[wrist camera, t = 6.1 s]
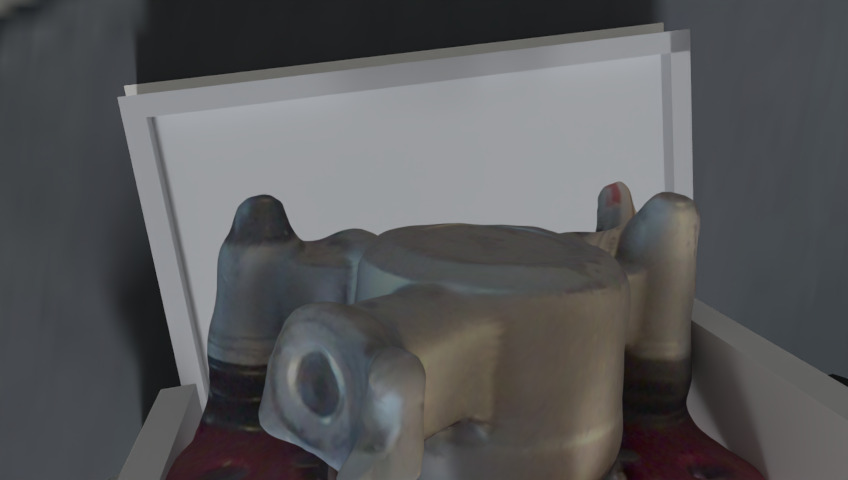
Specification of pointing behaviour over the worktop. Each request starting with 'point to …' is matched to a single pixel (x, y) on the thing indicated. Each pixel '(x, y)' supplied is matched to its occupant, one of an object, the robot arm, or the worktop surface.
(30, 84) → the worktop surface
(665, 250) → the brake caliper
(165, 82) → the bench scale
